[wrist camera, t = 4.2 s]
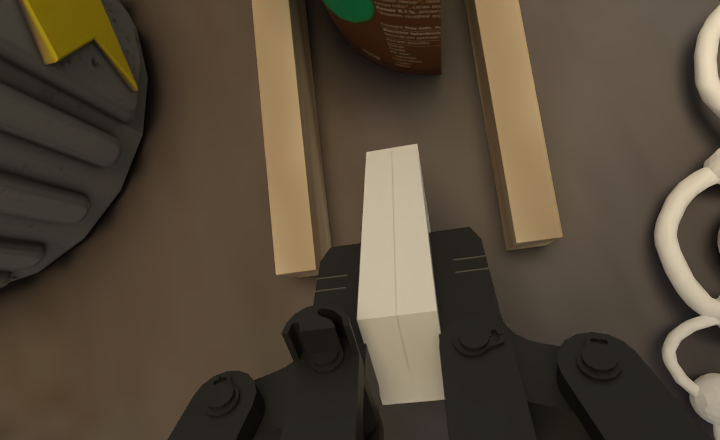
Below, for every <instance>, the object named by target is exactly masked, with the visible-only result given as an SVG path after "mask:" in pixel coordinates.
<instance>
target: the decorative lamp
mask: <svg viewBox="0 0 720 440" xmlns="http://www.w3.org/2000/svg"><path fill="white" fill-rule="evenodd" d="M147 83H148V76H147V72H146V67H145V63H144V58H143V54H142V49H141V45H140V40H139V36H138V31H137V27H136V26H135V24H134V23H133V21H132V19H131V17H130V15H129V13H128V12H127V10H126V9H125V8H124V7H123V5H122V4H121V2H120V1H119V0H0V288H2V287H4V286H6V285H8V283H9V282H12V281H15V280H18V279H21V278H24V277H27V276H30V275H33V274H36V273H38V272H39V271H41V270H42V269H43V268H45V267H46V266H47V265H49V264H50V263H52V262H53V261H54V260H56V259H57V258H58V257H60V256H61V255H62V254H64V253H65V252H66V251H68V250H69V249H70V248H72V247H73V246H74V245H76V244H77V243H79V242H80V241H81V240H83V239H84V238H85V237H86V235H87V234H88V233H89V231H90V230H91V229H92V227H93V226H94V225H95V223H96V222H97V221H98V220H99V218H100V217H101V216H102V214H103V213H104V212H105V210H106V209H107V208H108V206H109V205H110V204H111V202H112V201H113V200H114V198H115V197H116V196H117V194H118V193H119V192H120V191H121V188H122V186H123V183H124V181H125V178H126V176H127V173H128V171H129V168H130V166H131V163H132V161H133V158H134V155H135V153H136V150H137V148H138V145H139V143H140V140H141V138H142V135H143V127H144V116H145V105H146V94H147Z"/></svg>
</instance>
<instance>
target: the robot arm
mask: <svg viewBox="0 0 720 440" xmlns="http://www.w3.org/2000/svg"><path fill="white" fill-rule="evenodd" d="M282 335H283V338H284V340H285V342H286V344H287V347H288V349H289V351H290V354H291V356H292V358H293V360H294V361H293V362H292V363H291V364H289V365H288V366H286V367H285V368H283V369H281V370H279V371H277V372H274V373H271V374H269V375H266V376H264V377H261V378H259V379H256V380H253V379H252V378H251V377H250V376H249V374H246V373H243V372H241V371H227V372H224V373H221V374H219V375H216V376H214V377H212V378H211V379H210V380H208V381H207V382H206V383H204V384H203V385H202V386H201V387H200V389H199V390H198V391H197V392H196V394H195V395H194V396H193V398H192V400H191V401H190V403H189V405H188V406H187V408H186V410H185V411H184V413H183V415H182V416H181V418H180V420H179V421H178V423H177V425H176V426H175V428H174V430H173V431H172V433H171V435H170V436H169V438H168V440H384V435H383V426H382V421H381V417H380V414H379V395H380V398H381V401H382V404H383V405H389V404H400V403H412V402H423V401H434V400H445V406H446V415H447V424H448V433H449V440H711V439H710V438H709V437H708V436H707V434H706V433H705V432H704V431H703V430H702V429H701V427H700V426H699V425H698V424H697V423H696V422H695V420H694V419H693V418H692V417H691V416H690V415H689V413H688V412H687V411H686V410H685V409H684V408H683V406H682V405H681V404H680V403H679V402H678V401H677V399H676V398H675V397H674V396H673V395H672V394H671V392H670V391H669V390H668V389H667V388H666V387H665V385H664V384H663V383H662V382H661V381H660V380H659V378H658V377H657V376H656V375H655V374H654V373H653V371H652V370H651V369H650V368H649V367H648V366H647V364H646V363H645V362H644V361H643V360H642V359H641V357H640V356H639V355H638V354H637V353H636V352H635V351H634V350H633V349H632V348H631V347H629V346H628V345H627V344H626V343H625V342H623V341H622V340H619V339H617V338H615V337H612V336H610V335H607V334H601V333H594V332H590V333H582V334H577V335H575V336H573V337H571V338H569V339H567V340H565V341H564V343H563V344H562V345H561V347H560V346H553V345H547V344H541V343H536V342H533V341H529V340H526V339H524V338H522V337H520V336H518V335H516V334H515V333H514V332H512V331H511V330H510V329H509V328H508V327H507V326H506V324H505V323H504V322H503V319H502V317H501V314H500V311H499V307H498V303H497V299H496V295H495V291H494V287H493V283H492V279H491V275H490V272H489V269H488V264H487V260H486V257H485V252H484V248H483V244H482V240H481V238H480V237H479V236H478V235H477V234H476V233H475V232H474V231H473V230H472V229H471V228H470V227H466V228H459V229H451V230H444V231H437V232H431V231H430V223H429V216H428V210H427V203H426V197H425V190H424V184H423V178H422V171H421V165H420V158H419V152H418V146H417V144H413V145H407V146H401V147H395V148H389V149H383V150H377V151H371V152H366V170H365V187H364V204H363V222H362V239H361V243H360V244H353V245H346V246H338V247H331V248H329V250H328V251H327V253H326V254H325V256H324V257H323V259H322V260H321V261H320V266H319V272H318V280H317V285H316V293H315V298H314V304H313V306H310V307H306V308H305V309H303V310H301V311H299V312H298V313H296V314H295V315H294V316H293V317H292V318H291V319H290V320H289V321H288V322H287V323H286V325H285V327H284V330H283V332H282Z"/></svg>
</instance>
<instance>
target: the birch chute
mask: <svg viewBox="0 0 720 440" xmlns="http://www.w3.org/2000/svg"><path fill="white" fill-rule="evenodd" d="M464 2H465V8H466V14H467V20H468V26H469V32H470V38H471V44H472V50H473V56H474V62H475V68H476V74H477V80H478V86H479V92H480V98H481V104H482V110H483V115H484V121H485V127H486V133H487V139H488V145H489V151H490V157H491V163H492V169H493V175H494V181H495V187H496V193H497V199H498V205H499V211H500V217H501V223H502V229H503V235H504V241H505V246H506V251H508V250H516V249H524V248H531V247H539V246H546V245H548V244H550V243H552V242H554V241H556V240H558V239H560V238H562V237H563V235H562V230H561V224H560V219H559V214H558V208H557V203H556V198H555V192H554V187H553V182H552V176H551V171H550V166H549V161H548V155H547V150H546V145H545V139H544V134H543V129H542V123H541V118H540V113H539V107H538V102H537V97H536V91H535V86H534V81H533V76H532V70H531V65H530V60H529V54H528V49H527V44H526V38H525V33H524V28H523V22H522V17H521V12H520V6H519V1H518V0H464ZM252 8H253V20H254V31H255V42H256V54H257V65H258V76H259V87H260V99H261V110H262V121H263V133H264V144H265V155H266V167H267V178H268V189H269V200H270V212H271V223H272V234H273V246H274V257H275V268H276V275H282V276H291V277H299V278H301V277H308V276H316V275H318V272H319V266H320V261H321V260H322V259H323V257H324V256H325V254H326V253H327V251H328V250H329V248H331V247H332V245H331V236H330V227H329V217H328V208H327V199H326V190H325V181H324V171H323V162H322V153H321V144H320V134H319V125H318V116H317V107H316V98H315V88H314V79H313V70H312V61H311V51H310V42H309V33H308V24H307V15H306V5H305V0H252Z"/></svg>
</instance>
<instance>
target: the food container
mask: <svg viewBox="0 0 720 440" xmlns="http://www.w3.org/2000/svg"><path fill="white" fill-rule="evenodd" d="M321 1H322V3H323V5H324V6H325V8H326V10H327V11H328V13H329V15H330V17H331V18H332V20H333V22H334V24H335V25H336V27H337V29H338V30H339V32H340V33H341V34H342V36H343V37H344V38H345V40H346V41H347V42H348V43H349V44H350V45H351V46H352V47H353V48H354V49H355V50H356V51H357V52H358V53H360V54H361V55H363V56H364V57H366V58H367V59H369V60H371V61H372V62H374V63H376V64H379V65H381V66H383V67H386V68H388V69H392V70H396V71H399V72H403V73H411V74H420V75H426V74H441V4H440V0H321Z"/></svg>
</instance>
